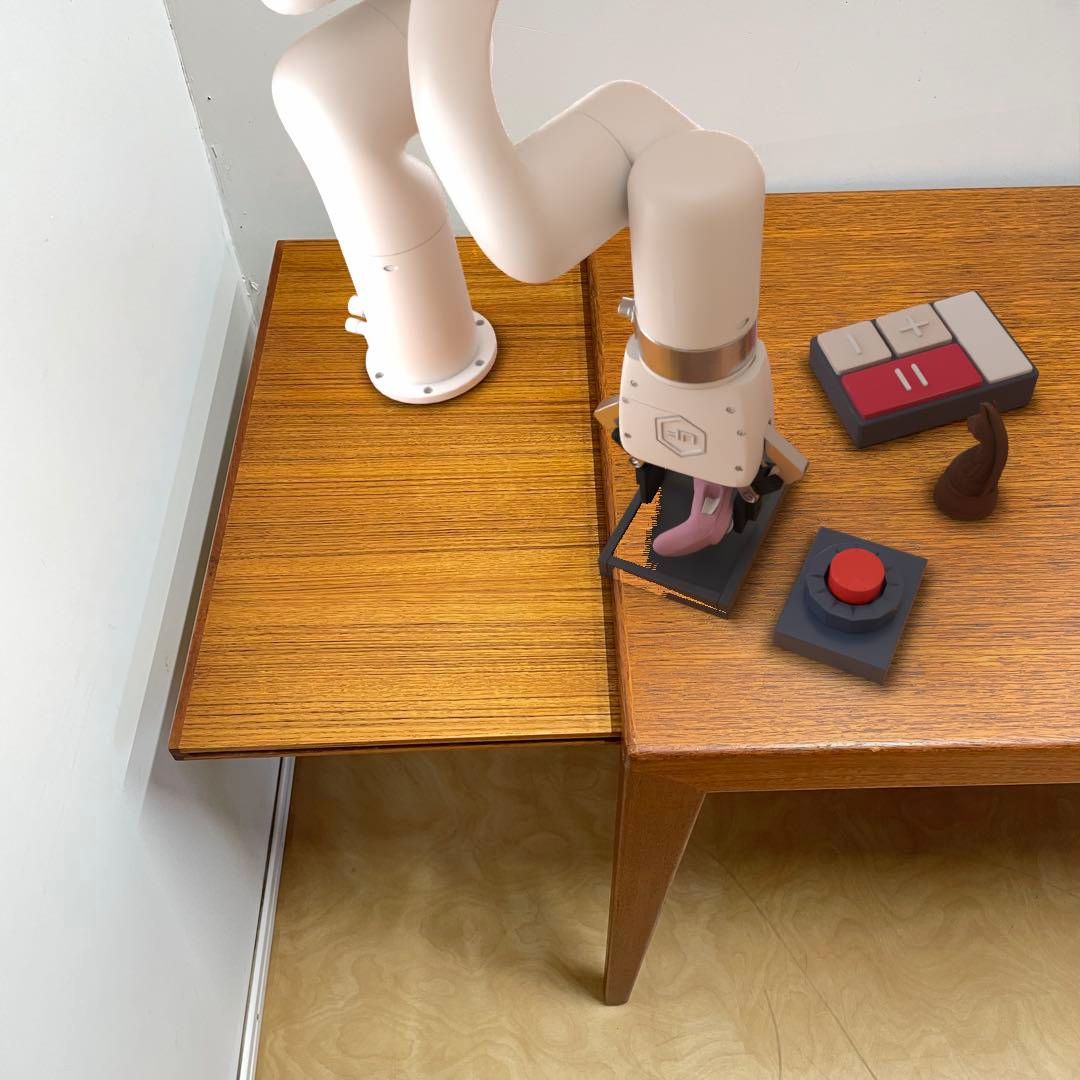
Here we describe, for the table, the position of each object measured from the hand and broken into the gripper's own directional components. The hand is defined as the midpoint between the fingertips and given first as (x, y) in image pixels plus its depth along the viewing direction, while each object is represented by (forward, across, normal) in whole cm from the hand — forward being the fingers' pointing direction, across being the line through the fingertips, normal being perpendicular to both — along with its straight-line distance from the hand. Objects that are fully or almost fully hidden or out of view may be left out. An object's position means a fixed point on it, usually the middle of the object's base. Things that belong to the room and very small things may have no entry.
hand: (698, 503), depth 77 cm
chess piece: (+3, +18, +10) cm, 21 cm away
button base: (+3, +13, -3) cm, 14 cm away
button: (-1, +13, -3) cm, 13 cm away
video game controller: (+1, 0, 0) cm, 1 cm away
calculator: (+3, +11, +21) cm, 24 cm away
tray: (+3, 0, 0) cm, 3 cm away
